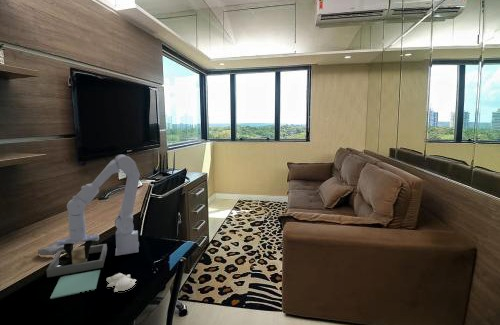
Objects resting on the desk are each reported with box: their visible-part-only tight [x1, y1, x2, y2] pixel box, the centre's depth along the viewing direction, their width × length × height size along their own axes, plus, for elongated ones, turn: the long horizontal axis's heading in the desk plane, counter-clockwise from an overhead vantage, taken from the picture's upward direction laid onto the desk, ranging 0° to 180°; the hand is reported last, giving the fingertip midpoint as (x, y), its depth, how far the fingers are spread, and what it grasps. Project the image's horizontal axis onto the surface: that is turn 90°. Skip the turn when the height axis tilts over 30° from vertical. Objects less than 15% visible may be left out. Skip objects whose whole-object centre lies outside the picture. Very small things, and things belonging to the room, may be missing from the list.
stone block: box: [37, 241, 74, 255], centre depth 117 cm, size 12×5×10 cm
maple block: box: [71, 245, 88, 264], centre depth 108 cm, size 4×4×6 cm
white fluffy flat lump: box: [106, 272, 137, 293], centre depth 94 cm, size 9×12×3 cm
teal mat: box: [49, 269, 101, 300], centre depth 93 cm, size 13×13×1 cm
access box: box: [46, 243, 108, 278], centre depth 108 cm, size 18×16×3 cm
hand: (79, 259), depth 108 cm, fingers closed on maple block, 4 cm apart
